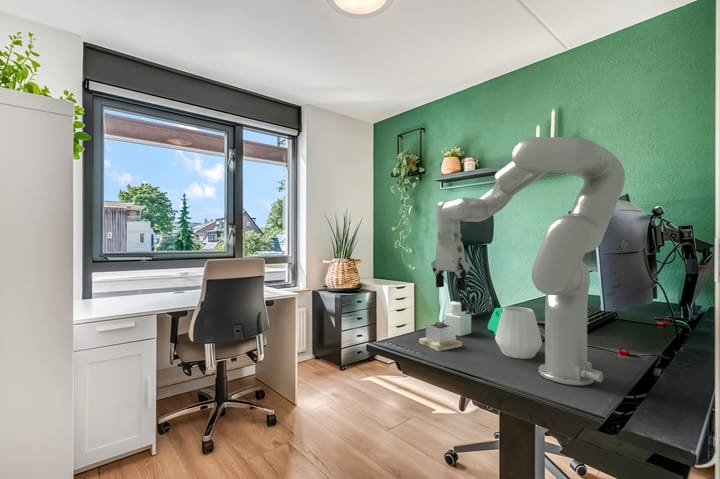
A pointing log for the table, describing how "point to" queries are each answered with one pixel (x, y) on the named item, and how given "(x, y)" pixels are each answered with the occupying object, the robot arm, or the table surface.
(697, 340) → the table surface
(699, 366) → the table surface
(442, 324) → the post block
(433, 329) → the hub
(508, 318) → the cup
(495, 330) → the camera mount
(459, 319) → the medicine bottle
